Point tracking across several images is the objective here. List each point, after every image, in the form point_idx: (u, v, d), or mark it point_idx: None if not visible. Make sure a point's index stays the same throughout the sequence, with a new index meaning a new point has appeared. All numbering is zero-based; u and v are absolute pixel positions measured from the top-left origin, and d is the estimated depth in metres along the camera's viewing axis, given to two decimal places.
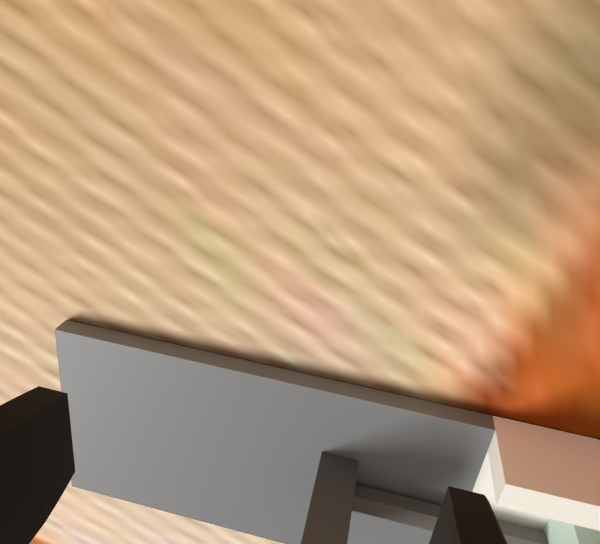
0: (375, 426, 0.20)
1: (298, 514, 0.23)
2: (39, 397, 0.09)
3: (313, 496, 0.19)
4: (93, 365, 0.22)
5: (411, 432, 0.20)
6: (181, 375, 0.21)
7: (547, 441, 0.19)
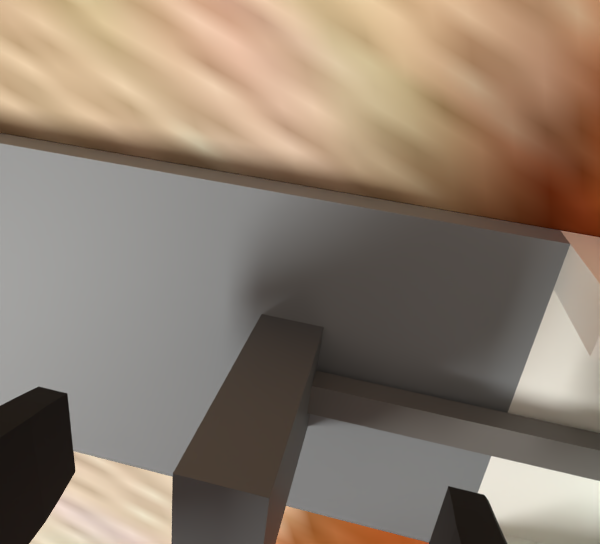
0: (350, 256, 0.11)
1: None
2: (39, 397, 0.09)
3: (234, 369, 0.10)
4: None
5: (414, 262, 0.11)
6: (19, 181, 0.12)
7: None
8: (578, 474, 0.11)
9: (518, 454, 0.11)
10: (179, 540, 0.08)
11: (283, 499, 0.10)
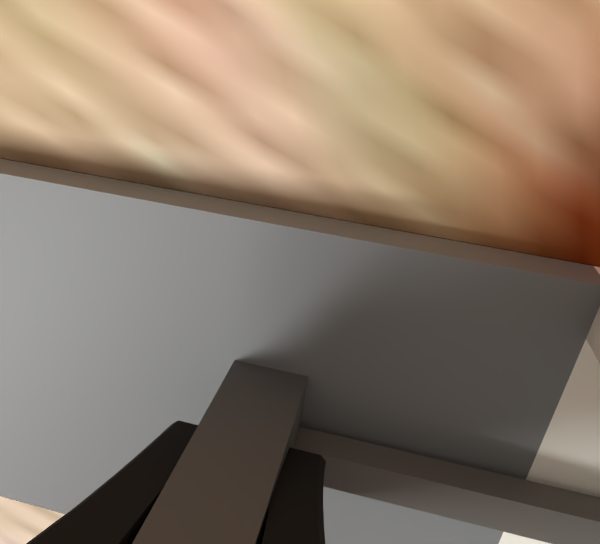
0: (338, 296, 0.09)
1: None
2: (185, 433, 0.09)
3: (194, 439, 0.08)
4: None
5: (416, 304, 0.09)
6: None
7: None
8: None
9: (540, 531, 0.10)
10: None
11: None
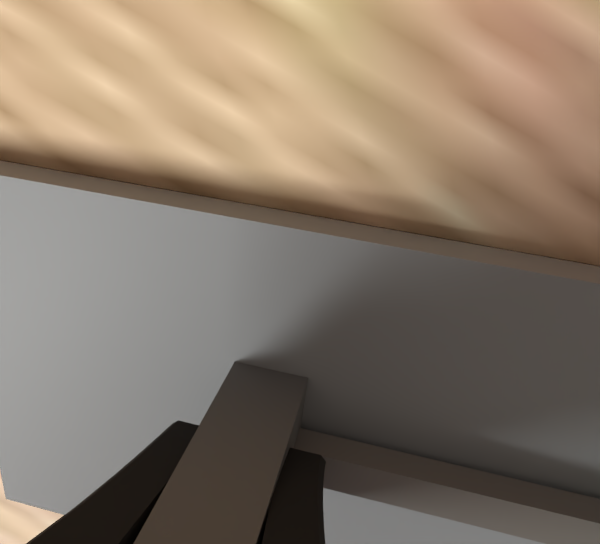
0: None
1: None
2: (185, 434, 0.09)
3: (194, 441, 0.08)
4: (27, 246, 0.10)
5: None
6: (214, 257, 0.09)
7: None
8: None
9: (540, 533, 0.10)
10: None
11: None
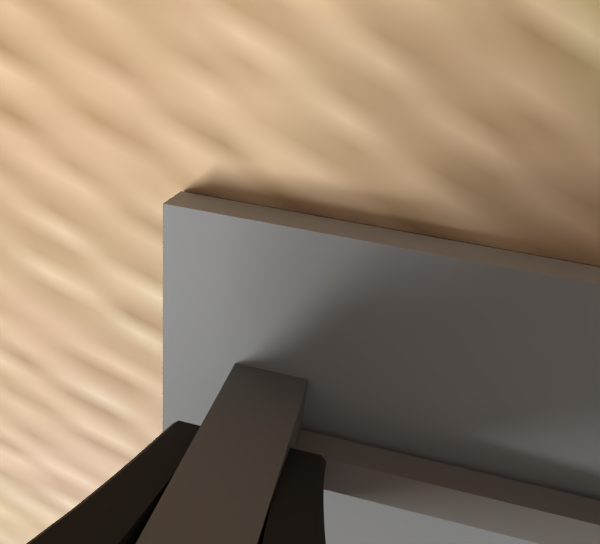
0: None
1: None
2: (185, 433, 0.09)
3: (195, 442, 0.08)
4: (245, 289, 0.10)
5: None
6: (463, 305, 0.09)
7: None
8: None
9: (540, 534, 0.10)
10: None
11: None
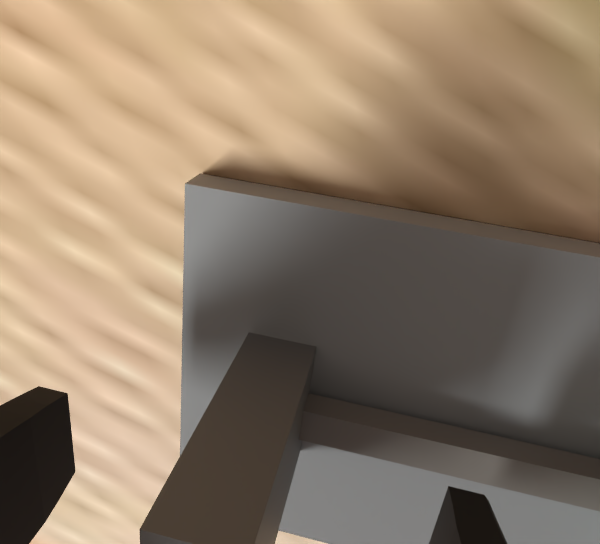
0: None
1: None
2: (39, 398, 0.09)
3: (216, 398, 0.09)
4: (259, 262, 0.11)
5: None
6: (459, 275, 0.10)
7: None
8: (594, 508, 0.10)
9: (528, 486, 0.10)
10: None
11: (270, 541, 0.09)
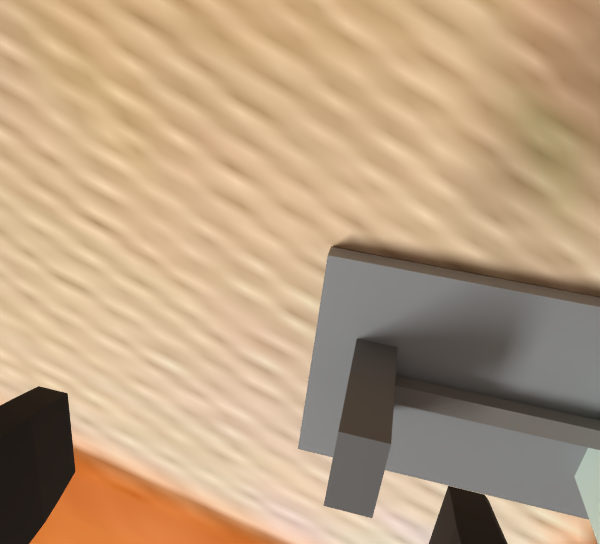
0: None
1: None
2: (39, 398, 0.09)
3: (351, 374, 0.17)
4: (367, 298, 0.18)
5: None
6: (482, 307, 0.18)
7: None
8: (558, 439, 0.18)
9: (521, 427, 0.18)
10: (335, 469, 0.15)
11: None
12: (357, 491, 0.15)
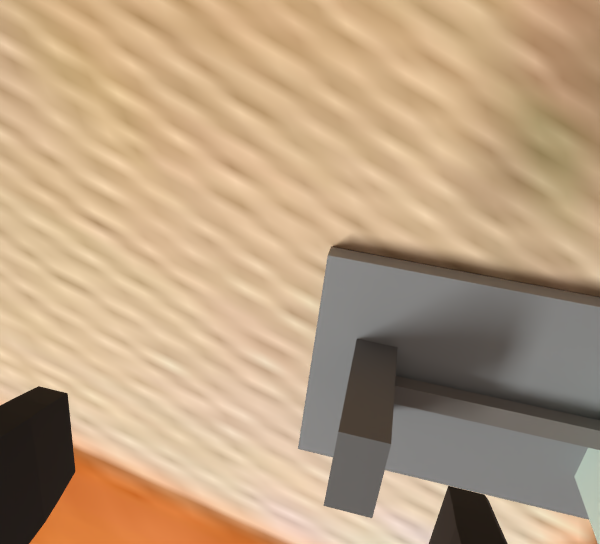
0: None
1: None
2: (39, 398, 0.09)
3: (351, 374, 0.17)
4: (367, 298, 0.18)
5: None
6: (482, 307, 0.18)
7: None
8: (558, 439, 0.18)
9: (521, 427, 0.18)
10: (335, 469, 0.15)
11: None
12: (357, 491, 0.15)
